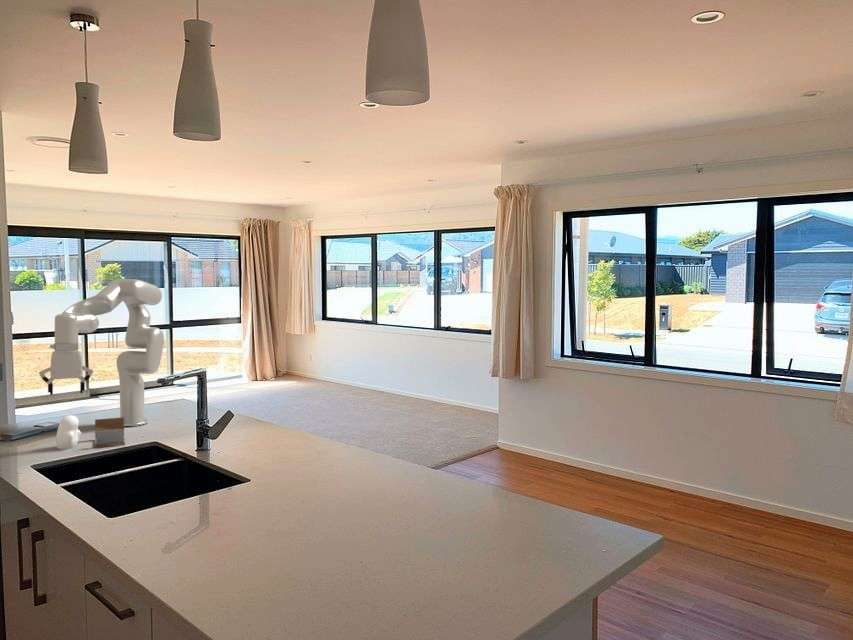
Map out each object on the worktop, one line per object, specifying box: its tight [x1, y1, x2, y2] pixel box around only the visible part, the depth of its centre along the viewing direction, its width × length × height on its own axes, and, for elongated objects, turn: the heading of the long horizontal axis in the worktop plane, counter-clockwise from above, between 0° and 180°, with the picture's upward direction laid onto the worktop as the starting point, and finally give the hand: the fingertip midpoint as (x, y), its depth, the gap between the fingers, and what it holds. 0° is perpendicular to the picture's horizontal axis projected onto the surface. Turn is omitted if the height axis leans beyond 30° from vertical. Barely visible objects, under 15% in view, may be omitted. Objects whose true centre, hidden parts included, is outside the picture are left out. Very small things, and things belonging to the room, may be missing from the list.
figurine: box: [55, 414, 82, 450], centre depth 231 cm, size 7×8×12 cm
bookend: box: [96, 429, 124, 445], centre depth 234 cm, size 4×9×5 cm, turn 118°
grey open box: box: [94, 416, 126, 449], centre depth 238 cm, size 13×10×8 cm
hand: (66, 393), depth 229 cm, fingers open, 9 cm apart
